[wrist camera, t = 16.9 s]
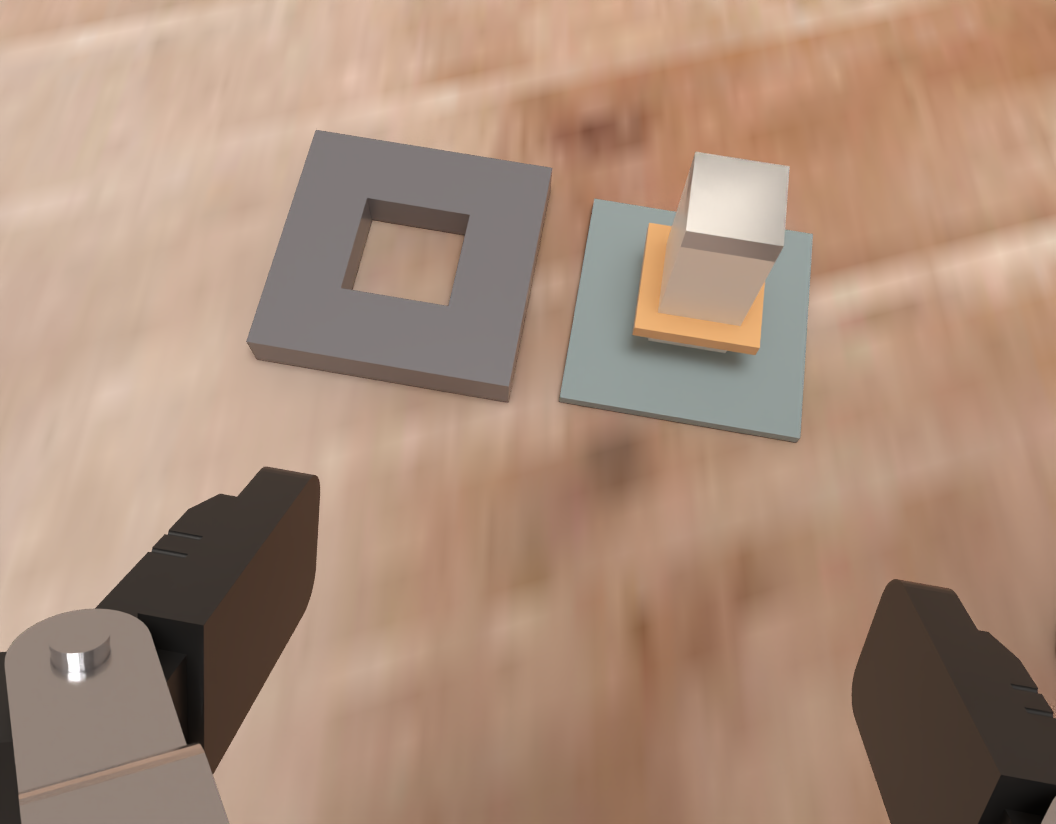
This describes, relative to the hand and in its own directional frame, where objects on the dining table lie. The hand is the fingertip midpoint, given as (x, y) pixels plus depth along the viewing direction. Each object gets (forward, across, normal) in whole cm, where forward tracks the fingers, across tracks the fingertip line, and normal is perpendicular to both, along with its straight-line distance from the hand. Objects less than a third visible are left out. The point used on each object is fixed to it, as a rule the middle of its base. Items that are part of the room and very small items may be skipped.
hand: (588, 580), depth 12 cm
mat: (+35, -5, +6) cm, 36 cm away
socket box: (+35, +10, +6) cm, 37 cm away
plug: (+34, -5, +5) cm, 35 cm away
